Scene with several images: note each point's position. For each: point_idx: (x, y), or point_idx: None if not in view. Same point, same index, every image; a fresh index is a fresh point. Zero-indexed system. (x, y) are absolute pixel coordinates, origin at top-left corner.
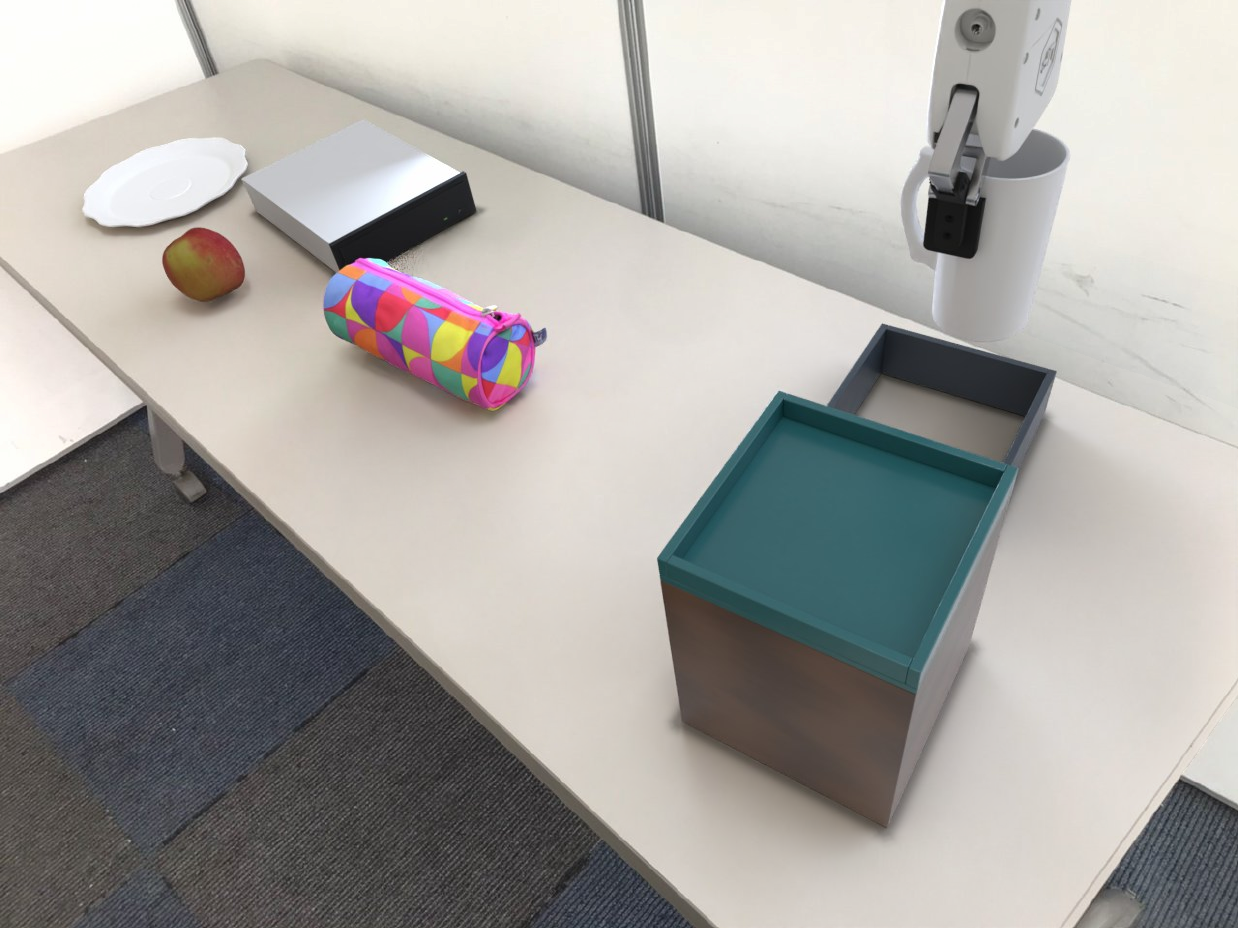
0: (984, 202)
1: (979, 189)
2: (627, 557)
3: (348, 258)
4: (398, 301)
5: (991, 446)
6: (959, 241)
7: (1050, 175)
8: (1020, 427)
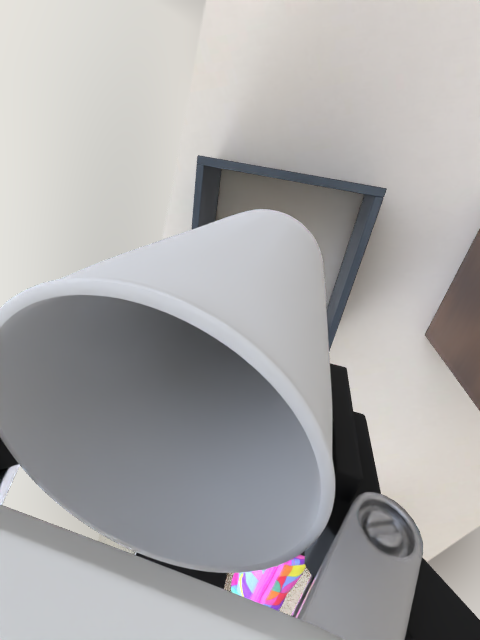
0: (343, 464)
1: (360, 529)
2: (424, 422)
3: (218, 586)
4: (279, 599)
5: (263, 199)
6: (366, 426)
7: (261, 350)
8: (287, 179)
